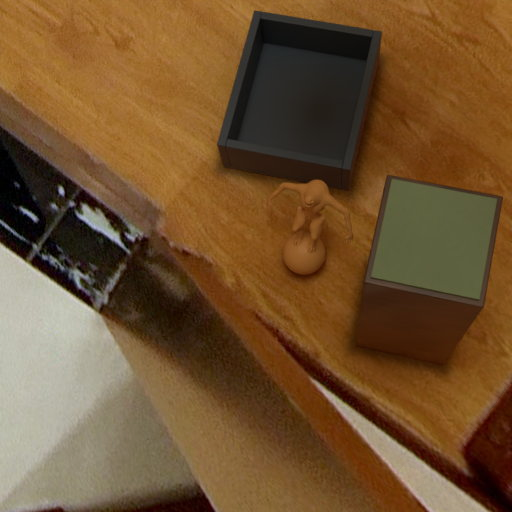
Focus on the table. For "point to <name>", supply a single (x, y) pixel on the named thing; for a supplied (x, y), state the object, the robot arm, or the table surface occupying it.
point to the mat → (434, 239)
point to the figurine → (305, 243)
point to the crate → (300, 99)
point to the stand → (417, 304)
